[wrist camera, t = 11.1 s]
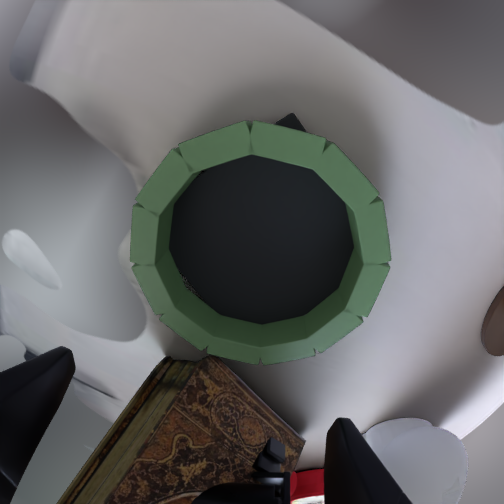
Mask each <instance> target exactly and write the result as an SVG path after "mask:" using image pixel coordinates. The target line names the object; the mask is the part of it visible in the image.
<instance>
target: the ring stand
mask: <svg viewBox="0 0 504 504" xmlns="http://www.w3.org/2000/svg"><path fill="white" fill-rule="evenodd" d="M481 340H482V344H483V346H484V347H485V349H486V350H487V352H488V353H489V354H491V355H494V356H502V355H504V287H503V288H502V289H501V290H500V292H499V293H498V295H497V296H496V298H495V299H494V301H493V302H492V304H491V306H490V308H489V310H488V312H487V314H486V317H485V319H484V322H483V326H482V332H481Z"/></svg>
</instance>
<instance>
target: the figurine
mask: <svg viewBox="0 0 504 504" xmlns="http://www.w3.org/2000/svg"><path fill="white" fill-rule="evenodd" d="M362 436H363V437H364V439H365V440H366V441H367V443H368V444H369V446H370V447H371V448H372V450H373V451H374V452H375V454H376V455H377V456H378V458H379V459H380V461H381V462H382V463H383V465H384V466H385V467H386V469H387V470H388V471H389V473H390V474H391V476H392V477H393V478H394V480H395V481H396V482H397V484H398V485H399V486H400V488H401V489H402V490H403V492H404V493H405V494H406V496H407V497H408V498H409V500H410V501H411V502H412V503H413V504H458V503H459V500H460V498H461V496H462V493H463V489H464V486H465V483H466V478H467V472H468V456H467V452H466V449H465V447H464V445H463V444H462V442H461V440H460V439H459V438H458V437H457V436H456V435H454V434H453V433H451V432H449V431H448V430H445V429H442V428H438V427H433V425H432V424H431V423H430V422H429V421H426V420H423V419H419V418H399V419H393V420H388V421H385V422H382V423H379V424H377V425H375V426H373V427H371V428H370V429H369V430H368V431H367V432H366V433H365V434H362Z"/></svg>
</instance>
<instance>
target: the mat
mask: <svg viewBox="0 0 504 504" xmlns="http://www.w3.org/2000/svg"><path fill="white" fill-rule="evenodd" d="M274 125H279V126H283V127H287V128H291V129H295V130H299V131H303V132H306V131H305V129H304V128H303V126H302V125H301V123H300V122H299V120H298V119H297V118H296V116H295V115H294V113H291V114H289V115H288V116H286V117H284V118H283V119H281V120H280V121H278V122H277V123H275V124H274ZM306 133H307V132H306ZM353 249H354V243H353V238H352V233H351V228H350V223H349V218H348V213H347V209H346V204H345V202H344V201H343V200H342V199H341V198H340V197H339V196H338V195H337V194H336V193H335V191H334V190H333V189H332V188H331V187H330V186H329V185H328V184H327V183H326V182H325V181H324V180H323V179H322V178H321V177H320V176H319V175H318V174H317V173H316V172H315V171H314V170H313V169H309V168H306V167H302V166H298V165H294V164H290V163H286V162H282V161H278V160H274V159H270V158H266V157H261V156H257V155H252V154H251V155H247V156H244V157H241V158H238V159H235V160H231V161H228V162H225V163H222V164H219V165H216V166H213V167H210V168H209V169H208V170H206V171H205V172H203V173H202V174H201V175H199V176H198V177H197V178H195V179H194V180H193V181H192V182H191V184H190V185H189V186H188V187H187V189H186V190H185V191H184V192H183V193H182V195H181V196H180V197H179V198H178V200H177V201H176V202H175V203H174V207H173V215H172V223H171V231H170V240H169V251H170V253H171V255H172V257H173V260H174V262H175V264H176V267H177V268H178V269H179V271H180V272H181V273H182V274H183V275H184V277H185V278H186V279H187V280H188V281H189V283H190V284H191V285H192V286H193V287H194V289H195V290H196V291H197V292H198V293H199V295H200V296H201V297H202V298H203V299H204V301H205V302H206V303H207V304H208V305H209V306H210V307H211V308H212V309H213V310H215V311H216V312H217V313H218V314H220V315H222V316H226V317H230V318H235V319H239V320H243V321H247V322H252V323H256V324H261V325H263V324H268V323H273V322H277V321H282V320H287V319H291V318H296V317H300V316H304V315H306V314H307V313H309V312H310V311H311V310H312V309H314V308H315V307H316V306H317V305H319V304H320V303H321V302H322V301H324V300H325V299H326V298H327V297H329V296H330V295H331V294H332V293H333V292H335V291H336V290H337V289H338V288H339V286H340V283H341V281H342V278H343V276H344V273H345V270H346V268H347V265H348V263H349V260H350V257H351V255H352V252H353Z"/></svg>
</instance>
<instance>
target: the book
mask: <svg viewBox="0 0 504 504" xmlns="http://www.w3.org/2000/svg"><path fill="white" fill-rule="evenodd" d="M270 437H272V438H274V439H276V440H277V441H279V442H281V443H282V444H284V445H285V461H284V463H281V466H280V472H284V471H290V477H291V475H292V473H293V470H294V468H295V466H296V464H297V461H298V459H299V457H300V454H301V452H302V449H303V447H304V445H305V442H306V440H305V439H303V438H302V437H301V436H300V435H299V434H298V433H297V432H295V431H294V430H293V429H292V428H291V427H290V426H289V425H288V424H287V423H286V422H285V421H283V420H282V419H281V418H280V417H279V416H278V415H277V414H276V413H275V412H274V411H273V410H272V409H271V408H270V407H269V406H268V405H266V404H265V403H264V402H263V401H262V400H261V399H260V398H259V397H258V396H257V395H256V394H255V393H254V392H253V391H252V390H251V389H250V388H249V387H248V386H247V385H246V384H245V383H244V382H243V381H242V380H241V379H240V378H239V377H238V376H237V375H236V374H235V373H234V372H233V371H232V370H230V369H229V368H228V367H227V366H226V365H225V364H224V363H223V362H222V361H221V360H220V359H219V358H218V357H216V356H214V355H209V356H205V357H204V358H202V359H201V360H200V361H199V363H195V362H190V361H187V360H173V359H172V358H171V356H167V357H165V358H163V359H162V360H161V361H160V363H159V364H158V365H156V367H155V368H154V369H153V371H152V372H151V373H150V375H149V376H148V377H147V379H146V380H145V381H144V383H143V384H142V385H141V387H140V388H139V390H138V391H137V392H136V394H135V395H134V396H133V398H132V399H131V400H130V402H129V403H128V405H127V406H126V407H125V409H124V410H123V411H122V413H121V414H120V416H119V417H118V418H117V420H116V421H115V423H114V424H113V425H112V427H111V428H110V429H109V431H108V432H107V434H106V435H105V437H104V438H103V439H102V441H101V442H100V443H99V445H98V446H97V448H96V449H95V450H94V452H93V453H92V455H91V456H90V457H89V459H88V460H87V461H86V463H85V464H84V466H83V467H82V468H81V470H80V471H79V473H78V474H77V475H76V477H75V478H74V480H73V481H72V483H71V484H70V485H69V487H68V488H67V490H66V491H65V492H64V494H63V495H62V497H61V498H60V500H59V501H58V502H57V504H191V503H192V501H193V500H194V499H195V498H196V497H197V496H199V495H200V494H201V493H202V492H204V491H205V490H207V489H209V488H211V487H213V486H215V485H219V484H223V483H227V482H239V483H252V484H262V483H260V482H259V481H257V480H255V479H254V478H252V477H251V475H252V474H253V473H254V472H255V471H257V470H255V469H254V468H252V465H253V463H254V462H255V460H256V458H257V456H258V454H259V453H260V452H261V451H263V449H264V447H265V445H266V443H267V441H268V440H269V438H270ZM275 496H280V493H278V492H276V491H275Z"/></svg>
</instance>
